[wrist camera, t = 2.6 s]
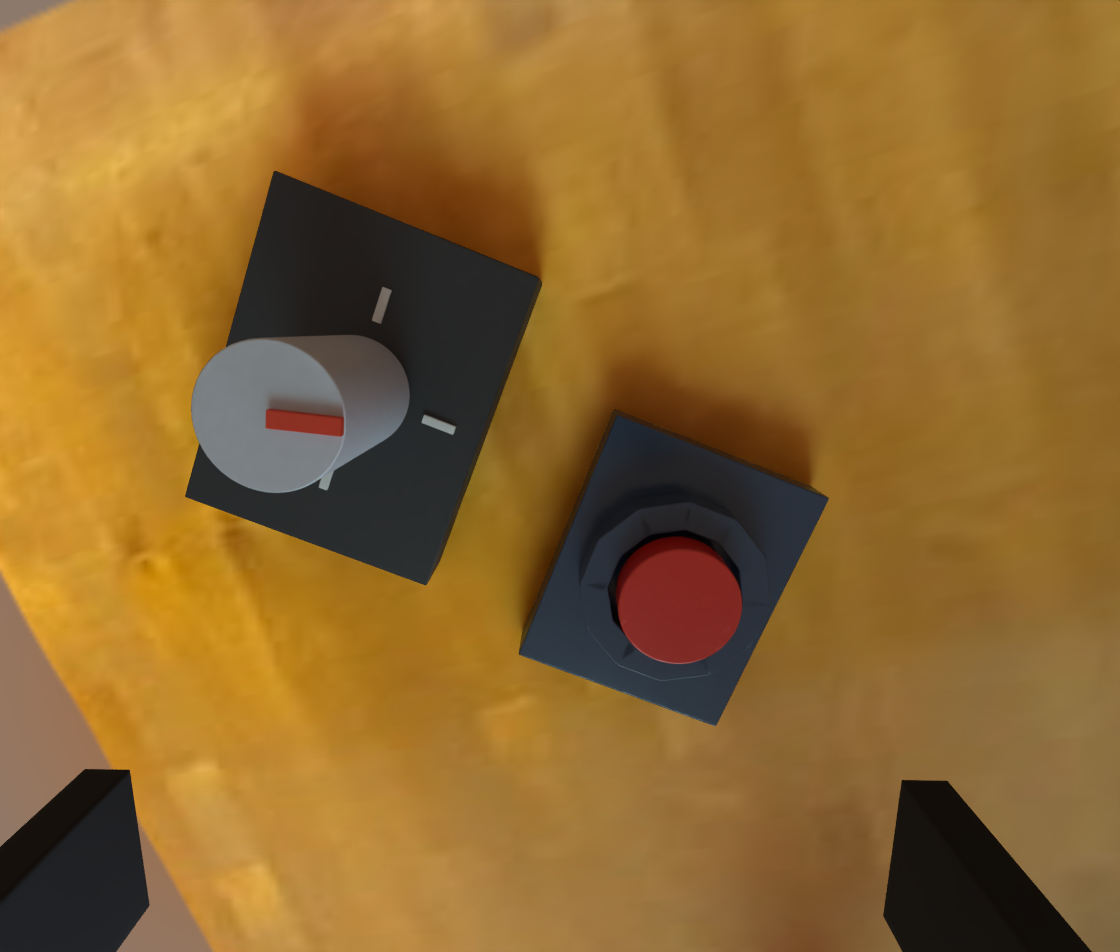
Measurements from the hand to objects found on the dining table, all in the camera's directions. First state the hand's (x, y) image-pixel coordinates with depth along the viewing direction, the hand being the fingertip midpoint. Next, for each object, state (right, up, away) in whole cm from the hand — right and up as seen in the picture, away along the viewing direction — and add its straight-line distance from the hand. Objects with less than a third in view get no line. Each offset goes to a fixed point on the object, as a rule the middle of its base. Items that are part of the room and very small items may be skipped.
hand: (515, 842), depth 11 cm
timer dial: (-8, +10, +16) cm, 20 cm away
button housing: (+6, +2, +21) cm, 21 cm away
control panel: (-8, +10, +19) cm, 23 cm away
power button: (+6, +1, +17) cm, 18 cm away
